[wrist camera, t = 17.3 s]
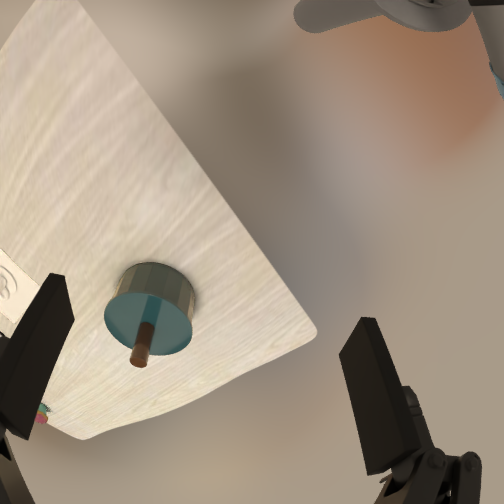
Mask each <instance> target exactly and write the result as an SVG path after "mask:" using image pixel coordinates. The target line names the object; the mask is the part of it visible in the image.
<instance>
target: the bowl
mask: <svg viewBox="0 0 504 504" xmlns="http://www.w3.org/2000/svg"><path fill="white" fill-rule="evenodd" d="M134 290H135V291H148V292H152V293H156V294H159V295H161V296H164V297H166V298H168V299H170V300H172V301H173V302H175V303H176V304H177V305H179V306H180V307H181V308H182V309H183V310H184V311H185V312H186V314H187V315H188V317H189V318H190V320H191V323H192V316H193V309H194V302H195V298H194V291H193V288H192V286H191V284H190V283H189V281H188V280H187V279H186V278H185V277H184V276H183V275H182V274H181V273H180V272H178V271H177V270H175V269H173V268H171V267H169V266H167V265H163V264H159V263H141V264H137V265H135V266H132V267H131V268H129V269H128V270H127V271H126V272H125V273H124V274H123V276H122V278H121V279H120V281H119V283H118V286H117V288H116V290H115V293H114V295H113V297H114V296H116V295H118V294H120V293H123V292H127V291H134ZM113 297H112V298H113Z"/></svg>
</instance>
